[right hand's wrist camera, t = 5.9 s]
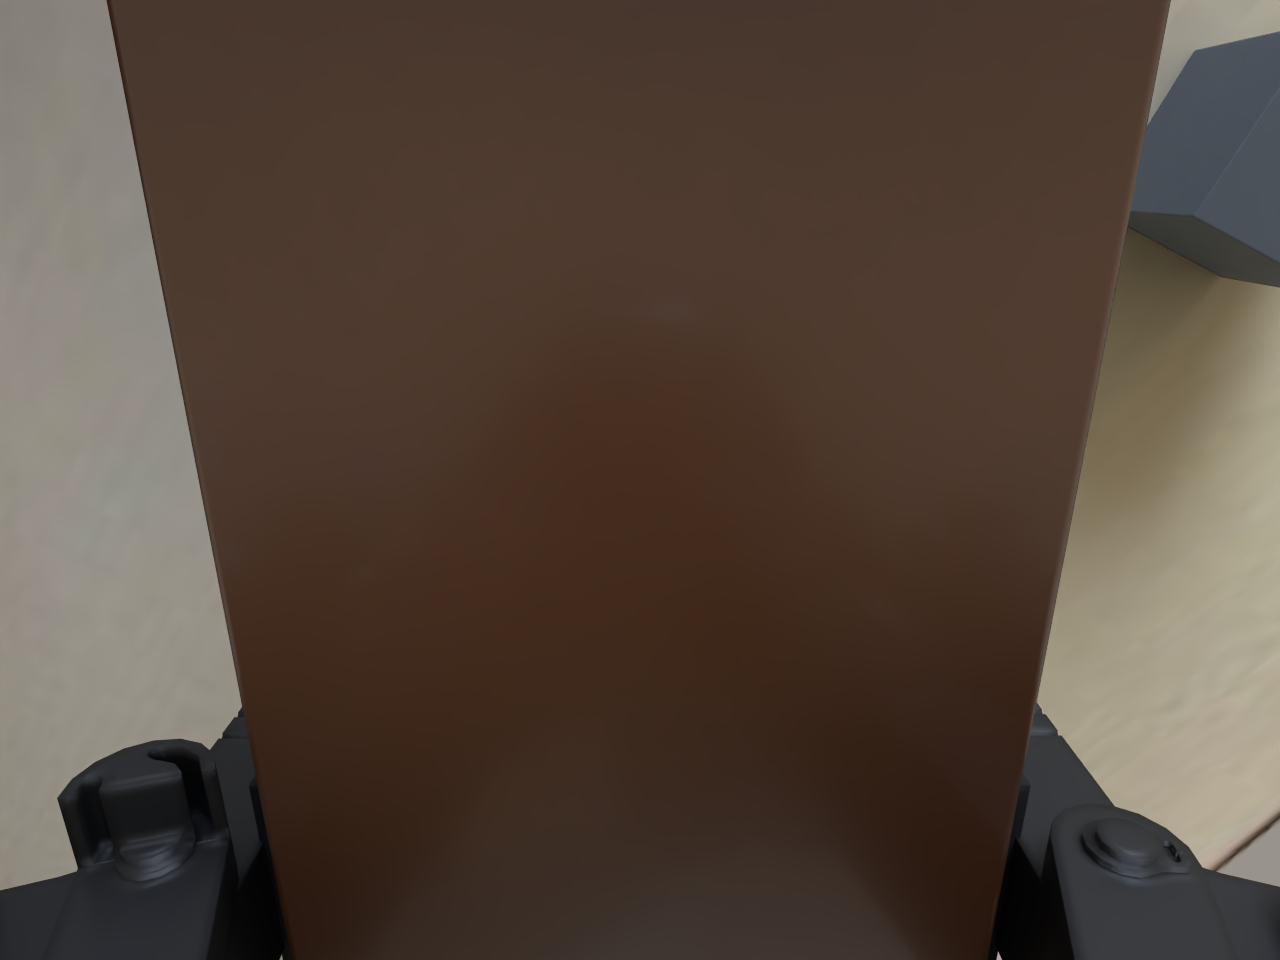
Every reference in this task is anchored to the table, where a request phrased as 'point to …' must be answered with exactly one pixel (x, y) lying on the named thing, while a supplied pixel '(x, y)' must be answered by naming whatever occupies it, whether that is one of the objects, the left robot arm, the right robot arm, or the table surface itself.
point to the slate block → (1217, 163)
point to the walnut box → (638, 446)
